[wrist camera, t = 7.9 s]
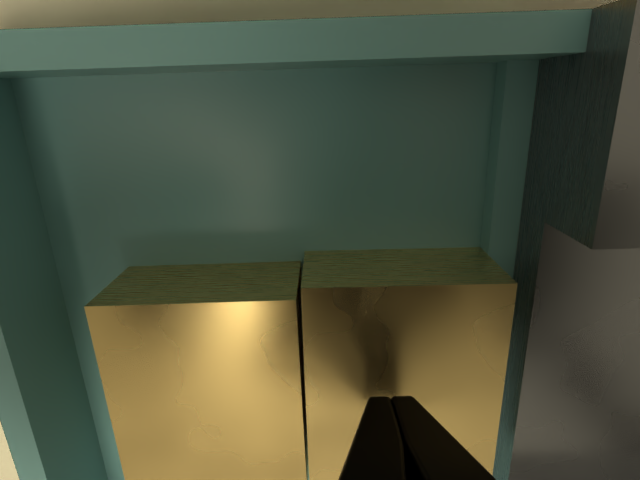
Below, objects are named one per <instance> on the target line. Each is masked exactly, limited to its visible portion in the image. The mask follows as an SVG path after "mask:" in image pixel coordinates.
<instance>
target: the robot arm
mask: <svg viewBox="0 0 640 480" xmlns="http://www.w3.org/2000/svg"><path fill="white" fill-rule="evenodd" d="M338 480H496V479H495V478H494V477H493V476H492V475H491V474H490V473H489V472H488V471H487V470H486V469H485V468H484V467H483V466H482V465H481V464H480V463H479V462H478V461H477V460H476V459H475V458H474V457H473V456H472V455H471V454H470V453H469V452H468V451H467V450H466V449H465V448H464V447H463V446H462V445H461V444H460V443H459V442H458V441H457V440H456V439H455V438H454V437H453V436H452V435H451V434H450V433H449V432H448V431H447V430H446V429H445V428H444V427H443V426H442V425H441V424H440V423H439V422H438V421H437V420H436V419H435V418H434V417H433V416H432V415H431V414H430V413H429V412H428V411H427V410H426V409H425V408H424V407H423V406H422V405H421V404H420V403H419V402H418V401H417V400H416V399H415V398H414V397H412V396H393V397H392V398H391V399H390V398H389V397H387V396H378V397H370V398H369V399H368V400H367V403H366V406H365V409H364V411H363V414H362V417H361V419H360V422H359V425H358V427H357V430H356V433H355V435H354V438H353V441H352V444H351V446H350V449H349V452H348V454H347V457H346V460H345V462H344V465H343V468H342V470H341V473H340V476H339V479H338Z"/></svg>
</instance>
